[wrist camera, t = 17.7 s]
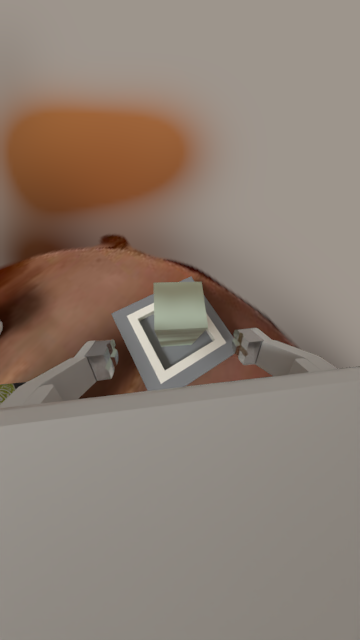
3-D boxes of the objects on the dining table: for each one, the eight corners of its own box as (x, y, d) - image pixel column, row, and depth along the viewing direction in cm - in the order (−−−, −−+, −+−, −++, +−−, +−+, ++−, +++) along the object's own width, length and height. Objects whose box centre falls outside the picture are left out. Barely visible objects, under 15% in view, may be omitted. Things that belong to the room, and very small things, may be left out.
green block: (191, 344, 22) (208, 327, 12) (161, 346, 21) (154, 330, 12) (188, 316, 23) (201, 281, 14) (160, 318, 23) (153, 282, 13)
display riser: (233, 351, 25) (245, 347, 21) (157, 400, 22) (154, 408, 18) (188, 285, 28) (192, 272, 24) (117, 319, 25) (108, 310, 21)
